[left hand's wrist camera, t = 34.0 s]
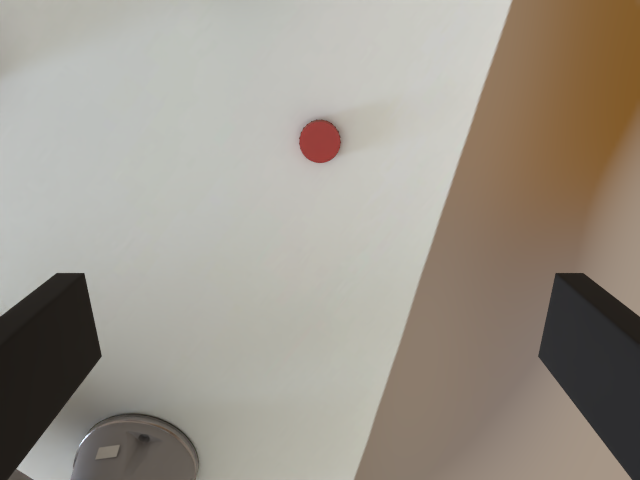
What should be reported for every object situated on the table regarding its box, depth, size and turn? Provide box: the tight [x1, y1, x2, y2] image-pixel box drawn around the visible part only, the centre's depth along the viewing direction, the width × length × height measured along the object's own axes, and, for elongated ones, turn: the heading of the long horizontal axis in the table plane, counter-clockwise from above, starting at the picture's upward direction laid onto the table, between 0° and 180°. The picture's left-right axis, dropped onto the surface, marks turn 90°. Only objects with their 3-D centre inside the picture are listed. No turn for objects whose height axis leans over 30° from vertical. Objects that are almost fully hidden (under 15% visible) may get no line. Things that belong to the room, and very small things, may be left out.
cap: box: [299, 120, 341, 163], centre depth 43 cm, size 4×4×2 cm
